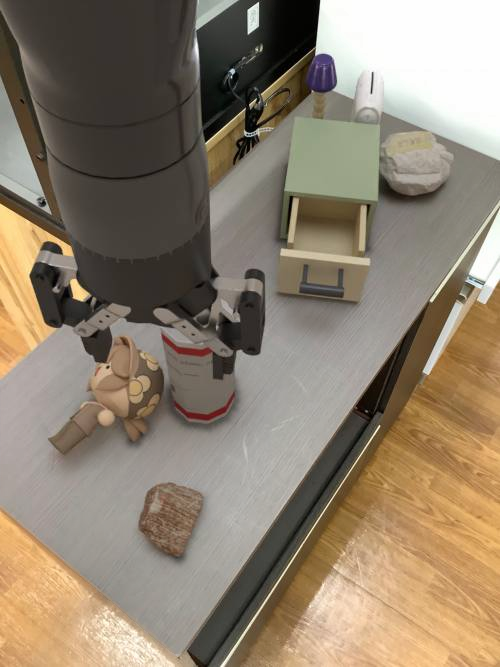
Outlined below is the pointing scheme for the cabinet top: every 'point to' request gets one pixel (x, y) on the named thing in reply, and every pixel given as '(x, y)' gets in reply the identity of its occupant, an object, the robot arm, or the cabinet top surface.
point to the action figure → (116, 395)
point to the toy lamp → (321, 81)
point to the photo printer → (368, 98)
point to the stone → (170, 516)
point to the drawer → (325, 250)
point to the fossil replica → (414, 162)
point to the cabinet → (332, 165)
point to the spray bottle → (196, 377)
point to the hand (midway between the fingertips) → (161, 360)
